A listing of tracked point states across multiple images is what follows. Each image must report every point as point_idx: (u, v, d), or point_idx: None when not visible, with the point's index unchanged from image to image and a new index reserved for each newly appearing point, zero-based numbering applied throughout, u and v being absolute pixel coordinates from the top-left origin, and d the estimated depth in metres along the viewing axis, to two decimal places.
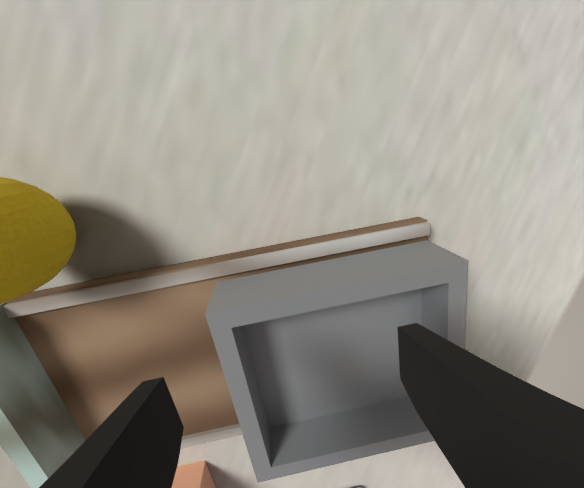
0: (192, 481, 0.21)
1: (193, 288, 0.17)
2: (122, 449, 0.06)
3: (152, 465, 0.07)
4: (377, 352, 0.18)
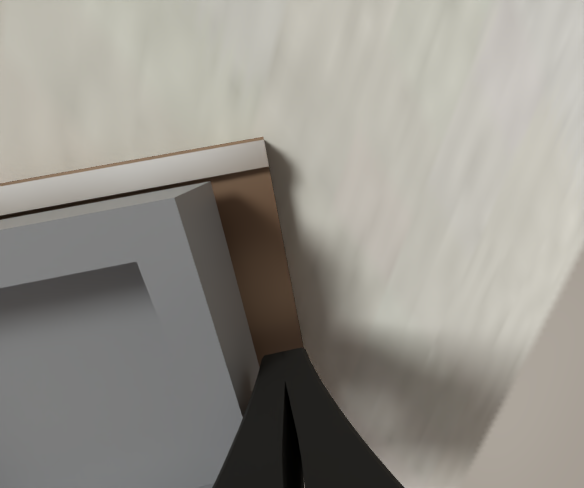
0: None
1: None
2: (286, 412, 0.06)
3: (295, 432, 0.07)
4: (137, 406, 0.09)
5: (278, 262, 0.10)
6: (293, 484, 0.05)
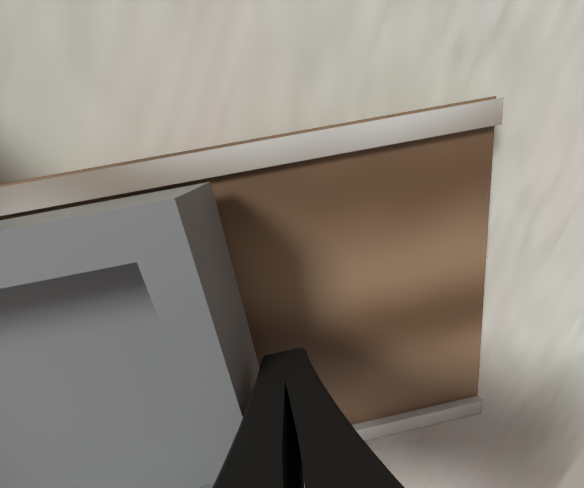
0: None
1: None
2: (286, 412, 0.06)
3: (295, 432, 0.07)
4: (137, 407, 0.09)
5: (480, 221, 0.10)
6: (293, 484, 0.05)
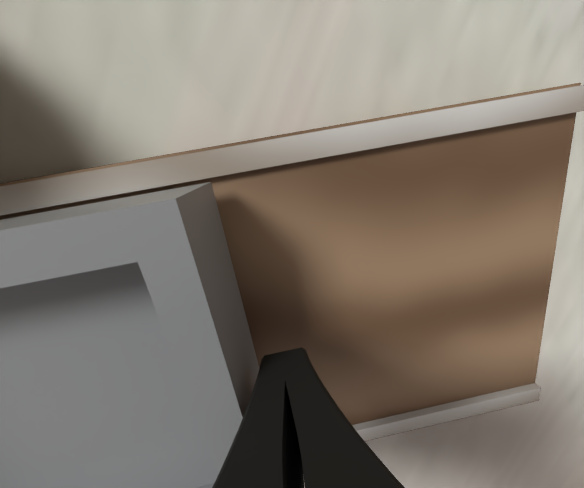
0: None
1: None
2: (286, 412, 0.06)
3: (295, 432, 0.07)
4: (136, 406, 0.09)
5: (553, 208, 0.10)
6: (293, 484, 0.05)
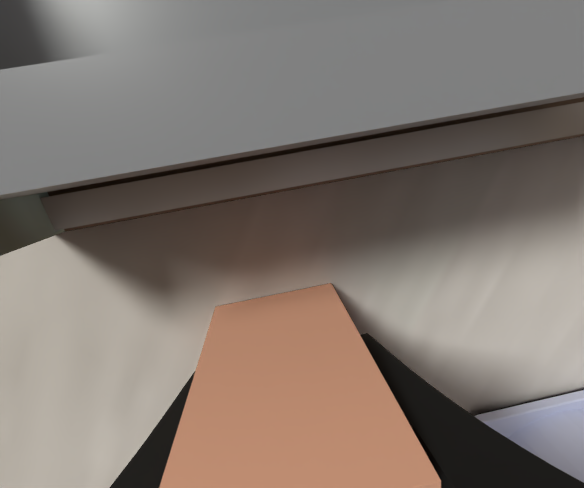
0: (319, 309, 0.08)
1: None
2: None
3: None
4: None
5: None
6: None
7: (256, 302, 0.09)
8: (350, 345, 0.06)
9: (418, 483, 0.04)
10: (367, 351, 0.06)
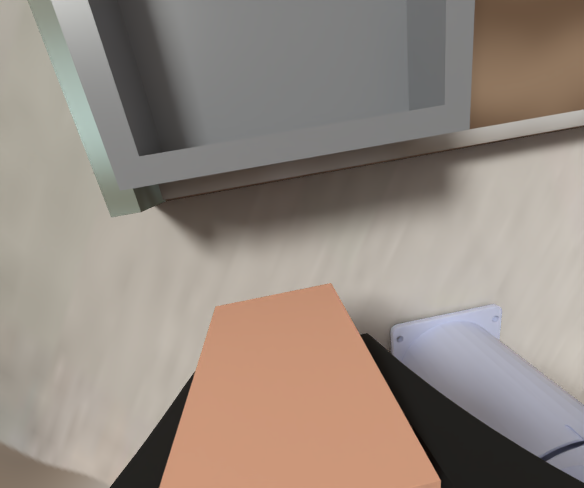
0: (319, 309, 0.08)
1: None
2: None
3: None
4: (332, 7, 0.11)
5: None
6: None
7: (256, 302, 0.09)
8: (350, 345, 0.06)
9: (418, 483, 0.04)
10: (367, 351, 0.06)
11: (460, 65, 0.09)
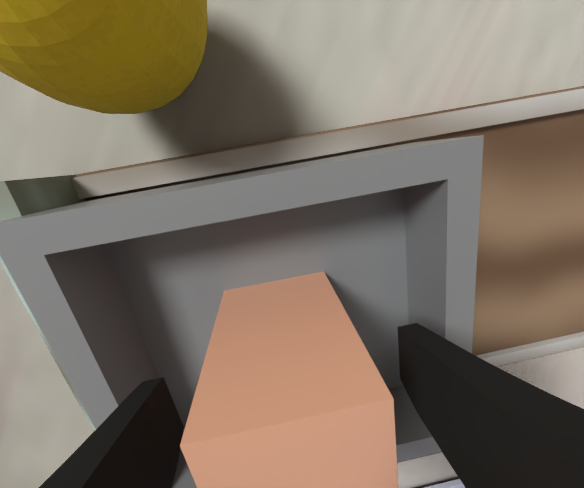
0: (312, 291, 0.09)
1: None
2: (122, 449, 0.06)
3: (152, 465, 0.07)
4: None
5: None
6: None
7: (259, 287, 0.10)
8: (336, 317, 0.08)
9: (377, 400, 0.05)
10: (349, 321, 0.07)
11: None
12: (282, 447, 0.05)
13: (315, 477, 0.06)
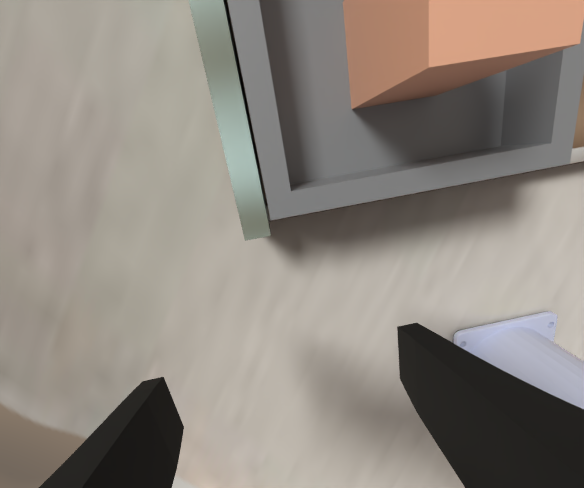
0: None
1: None
2: (122, 449, 0.06)
3: (152, 465, 0.07)
4: None
5: None
6: None
7: None
8: None
9: None
10: None
11: (568, 110, 0.11)
12: None
13: None
